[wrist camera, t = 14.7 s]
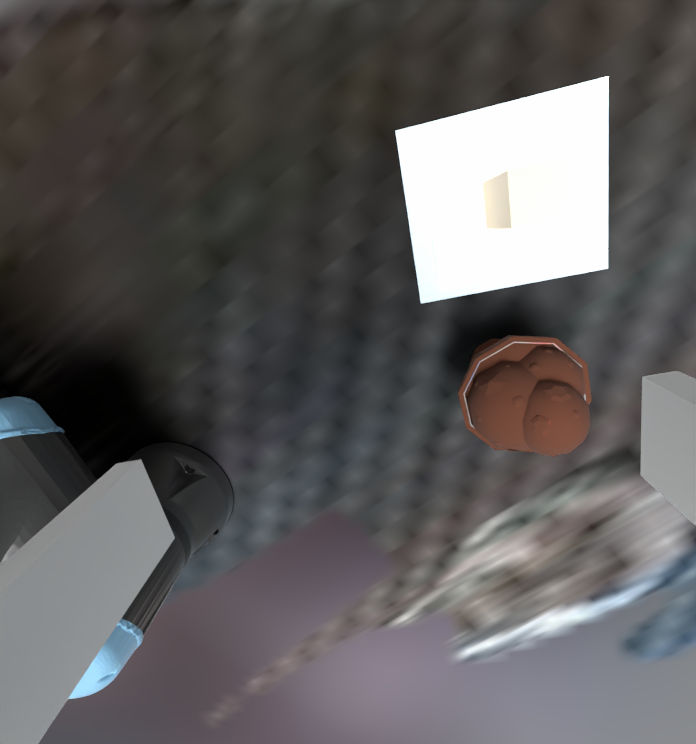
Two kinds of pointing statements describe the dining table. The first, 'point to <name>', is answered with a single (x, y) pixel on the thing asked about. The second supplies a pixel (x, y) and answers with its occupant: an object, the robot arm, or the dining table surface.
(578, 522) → the dining table surface
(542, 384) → the ice cream bowl
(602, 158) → the mat
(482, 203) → the lid
